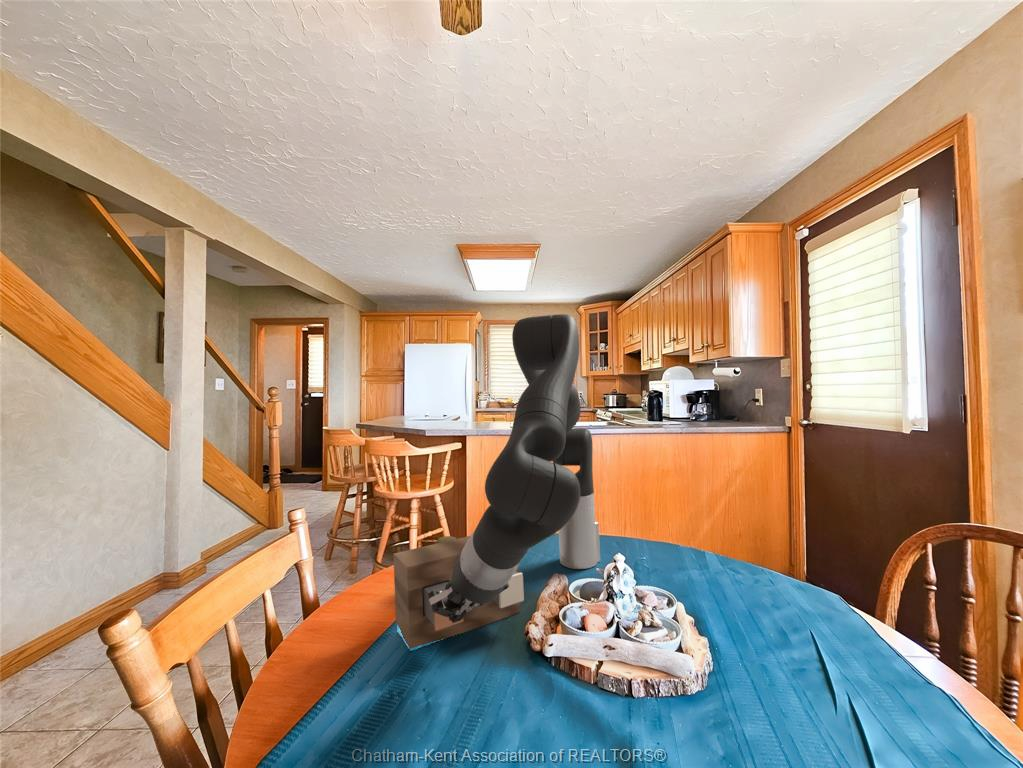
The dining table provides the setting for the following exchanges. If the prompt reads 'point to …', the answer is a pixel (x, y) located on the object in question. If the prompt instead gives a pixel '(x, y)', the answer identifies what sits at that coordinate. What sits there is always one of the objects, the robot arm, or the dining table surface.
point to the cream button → (512, 591)
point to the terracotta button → (435, 618)
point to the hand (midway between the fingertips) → (454, 615)
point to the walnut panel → (426, 570)
